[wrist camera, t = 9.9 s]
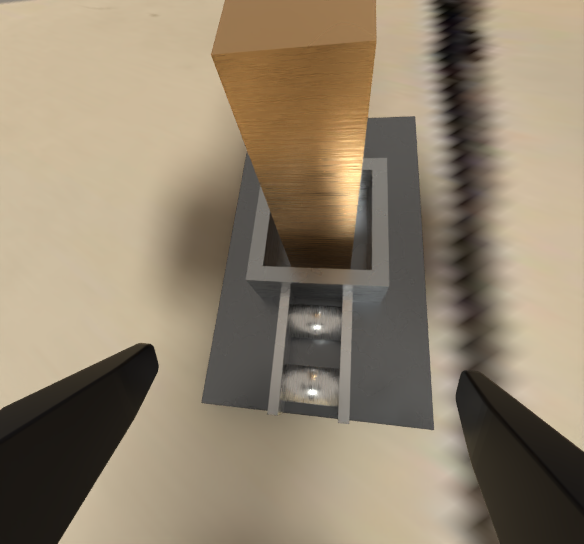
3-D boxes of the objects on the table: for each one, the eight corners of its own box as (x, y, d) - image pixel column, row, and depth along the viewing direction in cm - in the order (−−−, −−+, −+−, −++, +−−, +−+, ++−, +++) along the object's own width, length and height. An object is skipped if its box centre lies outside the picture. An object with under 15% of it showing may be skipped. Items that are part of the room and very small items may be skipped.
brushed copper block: (350, 271, 18) (376, 40, 6) (292, 269, 19) (210, 54, 7) (351, 213, 19) (374, -70, 7) (297, 213, 20) (238, -50, 8)
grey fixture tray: (428, 427, 16) (456, 440, 12) (208, 402, 18) (174, 406, 14) (411, 127, 22) (426, 76, 19) (255, 133, 24) (240, 87, 21)
